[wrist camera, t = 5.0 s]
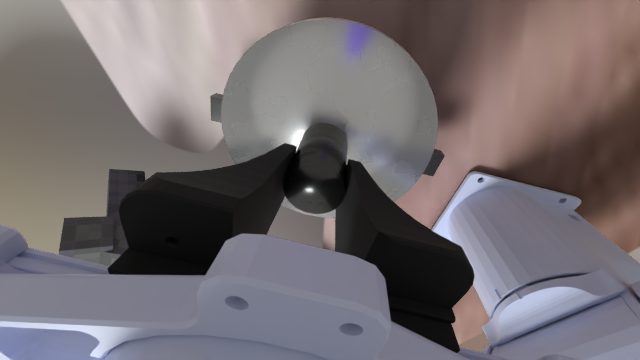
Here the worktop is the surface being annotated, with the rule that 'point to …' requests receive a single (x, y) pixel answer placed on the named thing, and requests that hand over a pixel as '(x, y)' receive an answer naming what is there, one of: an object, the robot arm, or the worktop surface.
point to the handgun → (101, 225)
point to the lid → (331, 110)
